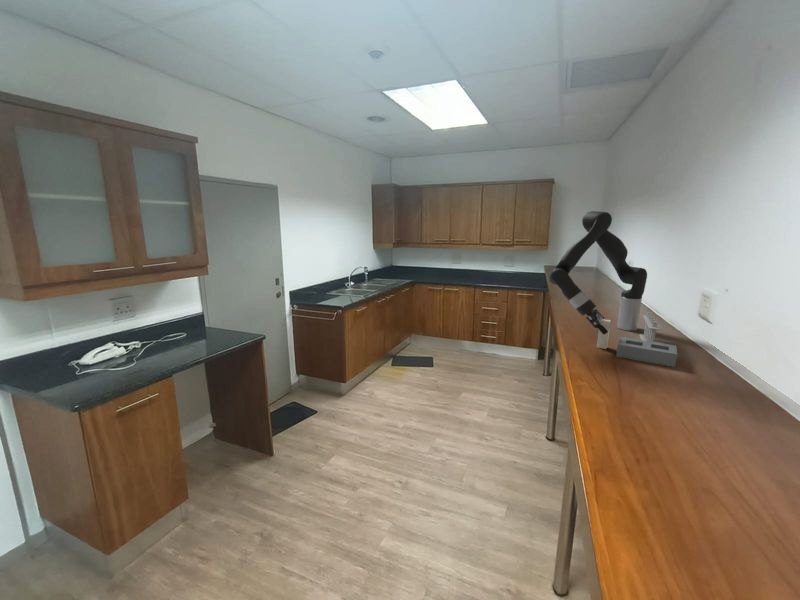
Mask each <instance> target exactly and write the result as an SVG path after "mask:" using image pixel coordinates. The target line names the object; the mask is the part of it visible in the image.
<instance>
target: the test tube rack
mask: <svg viewBox="0 0 800 600" xmlns="http://www.w3.org/2000/svg"><path fill="white" fill-rule="evenodd" d="M642 317H643V319H644V321H645V324H644V325H645V326H644V331H643V334H642V333H640V334H639V338H640V340H644V341H650V342H655V338H656V331H657V330H658V331H662V327H661V326H660V325H659V323H658V322H657V320H656V319H655V316H654V315H653V314H652V312H651V311H647V313H646V314H642Z"/></svg>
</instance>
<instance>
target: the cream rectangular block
mask: <svg viewBox="0 0 800 600" xmlns="http://www.w3.org/2000/svg"><path fill="white" fill-rule="evenodd" d="M600 320H601V321H600V322H601V324H602V325H603V326H604V327H605V329H606V330H607V331H608V333H606V334H603V333H602V332H601V331H600V330H599V329H598V333H597V340H596V348H598V349H603V350H604V349H605V350H607V348H608V343H609V336H610V329H611V319H600Z"/></svg>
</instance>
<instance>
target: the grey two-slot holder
mask: <svg viewBox="0 0 800 600" xmlns="http://www.w3.org/2000/svg"><path fill="white" fill-rule="evenodd" d="M615 355H616V356H615V357H618V358H622V357H623V358H624V359H627V358H628V359H629V360H634V361H638V362H644V363H648V364H649V363H651V364H654V363H655V364H656V365H660V364H661V366H665V365H666V366H667V367H670V366H671V368H676V365H677V363H676V362H677V358H678V357H677V356H678V350H677V345H675V344H669V343H668V344H667V343H662V342H656V341H654V342H650V341H644V340H641V339H636V338H630V337H624V336H620V337H619V341H618V342H617V348H616V354H615ZM628 359H627V360H628Z"/></svg>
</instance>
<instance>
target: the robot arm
mask: <svg viewBox="0 0 800 600" xmlns="http://www.w3.org/2000/svg"><path fill="white" fill-rule="evenodd" d="M581 221H582V226H583V228H584V230H585V231H586V232H587V233H586V234H585V235H584V236H583V237H582V238H580V239H579V240H578V241H576V242H575V243H573V244H572V245H571V246H570V247H569V248H568V249H567V250H566V251H565V253H564V254H563V255H562V257H561V258H560V260H559V263H558V264H557V265H556V266H555V267H554V269H553V270H552V271H551V273H550V274H549V277H548V278H549V281H550V284H552V285H555V286H556V285H557V286H558V288H559V289H560V290H561V292H562V294H563V296H564V297H565V298H566V299H567V300H568V301H569V302H570V304H571V305H572V307H574V309H575V310H576V311H577V312H578V313H579V314H580V315H581V317H582V316H587V317H586V319H587V321H589V323H590V325H592V326H593V327H594V328H595V329H598V331H599V330H600V331H601V332H602V333H603V334H606V333H608V331H607V330H606V329H605V327H604V326H603V325H602V324H601V322H600V321H601V320H600V319H605V317H604V315H602V314H601V313H600V311H599V310H598V309H596V307H597V305H596V304H595V302H594V301H592V300H591V298H590V297H589V296H588V295H587V294H586V293H585V292H583V291H582V289H580V287H579V286H578V285H577V284H576V283H575V282H574V280H573V279H572V277H571V276H570V273H571V271H572V269H574V267H576V265H577V264H578V262H579V261H580V260H581V258H582V257H583V256H584V254H586V252H587V251H588V250H589V249H590V248H591V247H592V246H593V245H594V243H597V245H598V246H599V248H600V249H601V250H602V252H603V253H604V255H605V257H606V258H607V259H608V260H609V261H610V263H611V266H612V267H613V268H614V269H615V272H616V274H617V277H618V278H619V280H620V281H621V282H622V283H623V284H627V285H631V287H630V288H629V289H626V290H622V291H621V295H620V301H619V302H620V304H619V310H618V317H617V325H616V328H618V329H619V330H623V331H629V332H631V331H632V332H633V331H637V330H638V326H639V319H640V313H641V307H642V301H643V300H642V299H643V295H644V292H645V288H646V283H647V278H648V272H647V269H646V268H644V267H643V268H642V267H637V266H636V267H635V266H630V265H629V264H628V262H627V261H626V259H627V257H628V253H629V252H628V248H627V247H626V245H625V243H624V242H623V241H622V240H621V239H620V238H619V237H618V236H617V235H615V234H613V233H612V232H611V231H609V230H608V229H609V228H610V226H611V224H612V221H613V217H612V214H610V213H609V212H606V211H598V210H597V211H596V210H592V211H587V212H586V213H585V214H584V215H583V217H582V220H581ZM605 320H606V319H605Z"/></svg>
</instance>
